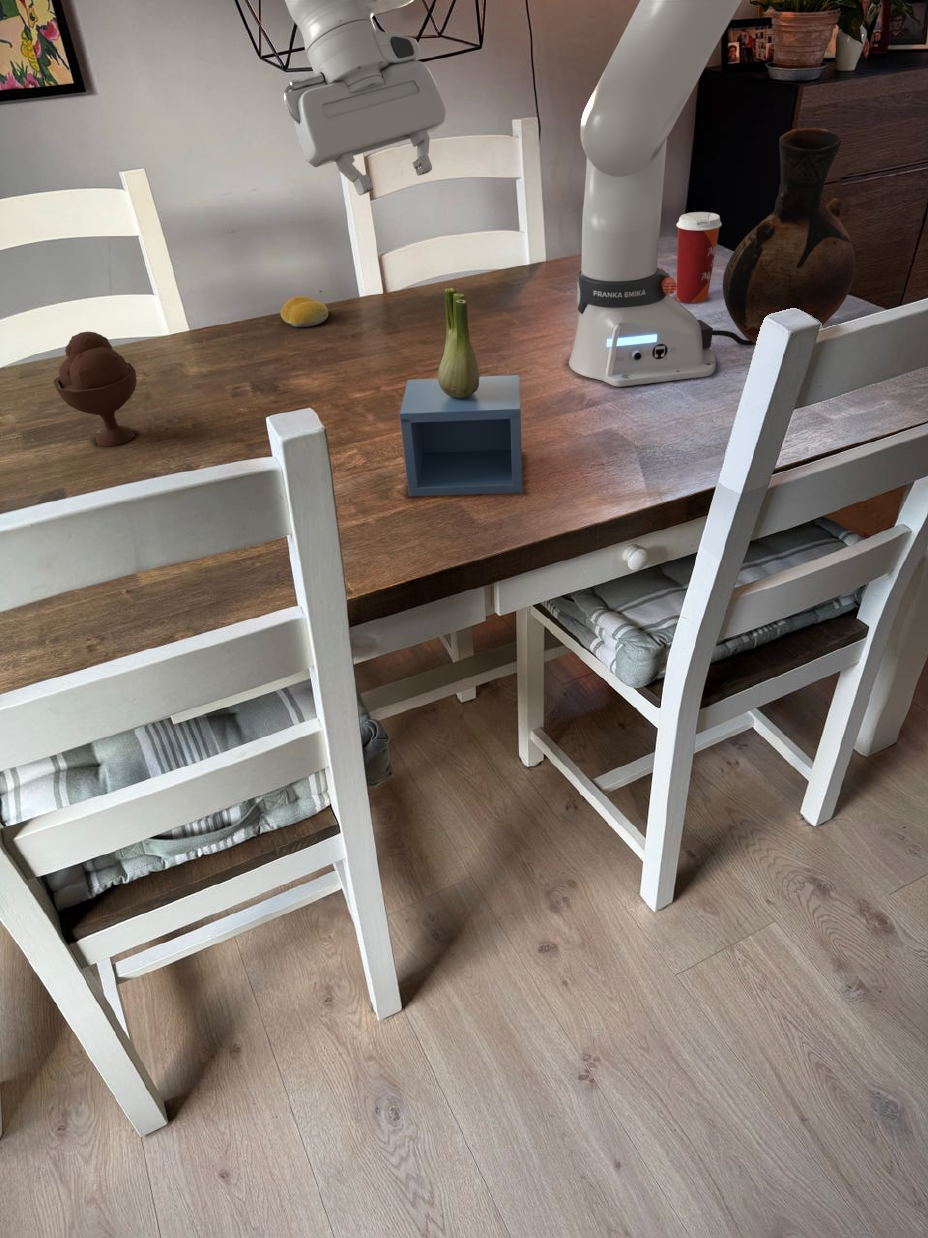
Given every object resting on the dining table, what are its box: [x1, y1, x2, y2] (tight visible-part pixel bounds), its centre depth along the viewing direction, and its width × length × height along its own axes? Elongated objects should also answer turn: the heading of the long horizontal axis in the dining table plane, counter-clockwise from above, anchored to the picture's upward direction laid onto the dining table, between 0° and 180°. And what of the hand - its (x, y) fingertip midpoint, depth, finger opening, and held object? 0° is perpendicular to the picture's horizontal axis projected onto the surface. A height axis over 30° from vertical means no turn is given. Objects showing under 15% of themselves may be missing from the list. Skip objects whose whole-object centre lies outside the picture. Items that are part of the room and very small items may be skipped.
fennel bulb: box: [437, 287, 480, 398], centre depth 99 cm, size 6×5×12 cm
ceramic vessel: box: [722, 127, 856, 344], centre depth 129 cm, size 21×18×30 cm
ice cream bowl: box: [52, 331, 137, 448], centre depth 120 cm, size 11×11×15 cm
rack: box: [399, 374, 523, 497], centre depth 106 cm, size 14×10×11 cm
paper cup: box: [675, 211, 723, 304], centre depth 153 cm, size 8×8×14 cm
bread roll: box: [280, 296, 329, 328], centre depth 160 cm, size 8×9×4 cm
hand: (396, 182), depth 108 cm, fingers open, 8 cm apart
